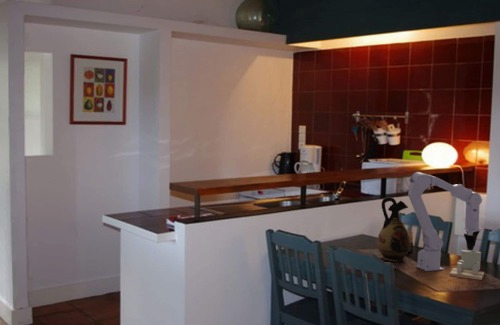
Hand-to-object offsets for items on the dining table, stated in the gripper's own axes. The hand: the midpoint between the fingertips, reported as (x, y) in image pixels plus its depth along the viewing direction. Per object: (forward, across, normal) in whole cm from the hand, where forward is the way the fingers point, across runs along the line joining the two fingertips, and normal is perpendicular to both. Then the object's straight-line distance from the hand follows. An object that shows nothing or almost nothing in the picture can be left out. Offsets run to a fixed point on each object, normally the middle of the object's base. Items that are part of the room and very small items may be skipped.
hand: (471, 248), depth 263 cm
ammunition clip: (+9, +16, +34) cm, 39 cm away
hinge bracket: (+9, -12, 0) cm, 15 cm away
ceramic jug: (+9, -1, +36) cm, 37 cm away
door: (+10, 0, 0) cm, 10 cm away
